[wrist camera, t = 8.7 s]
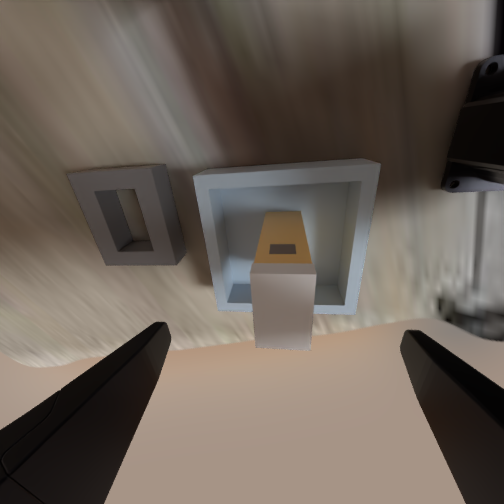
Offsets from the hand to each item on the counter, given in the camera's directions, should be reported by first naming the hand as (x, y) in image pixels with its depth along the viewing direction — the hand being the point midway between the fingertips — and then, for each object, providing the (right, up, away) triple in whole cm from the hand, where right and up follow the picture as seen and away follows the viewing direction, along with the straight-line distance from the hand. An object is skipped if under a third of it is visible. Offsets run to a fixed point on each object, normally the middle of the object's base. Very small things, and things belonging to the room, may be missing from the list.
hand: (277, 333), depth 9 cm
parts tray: (+1, +4, +8) cm, 10 cm away
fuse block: (-10, +6, +9) cm, 15 cm away
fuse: (+1, +4, +8) cm, 9 cm away
